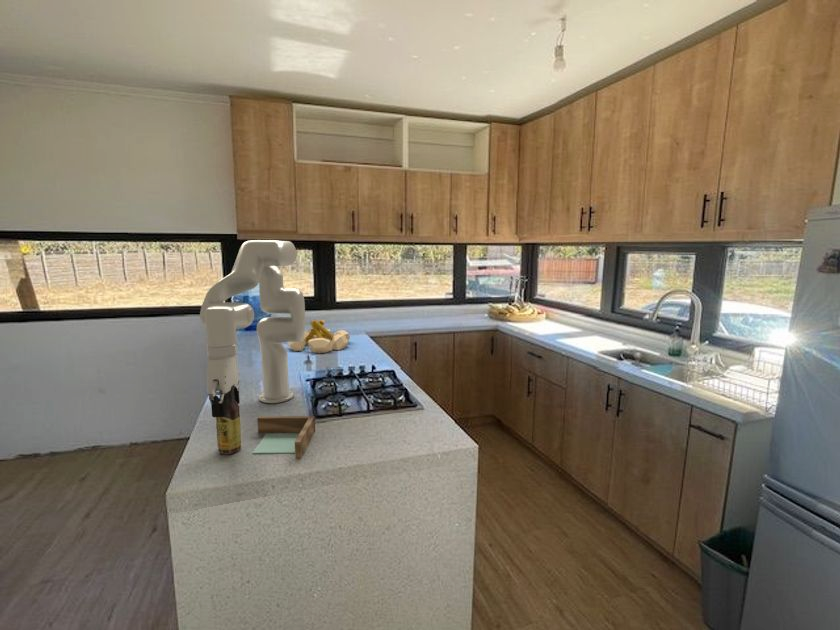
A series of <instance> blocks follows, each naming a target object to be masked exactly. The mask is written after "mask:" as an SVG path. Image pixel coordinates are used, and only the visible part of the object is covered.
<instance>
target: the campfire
mask: <svg viewBox="0 0 840 630" xmlns="http://www.w3.org/2000/svg"><path fill="white" fill-rule="evenodd" d="M309 323H310V324H309V325H310V326H311V328H309V329H308V330H307V331H306V330H305V337H304V339H303V340H302V341H300V342H287V344H288V346H289V348H290V349H291V350H292V351H293V352H298V351H303V350H304V348H305V346H306V345H307V344H308V348H309V350H310V351H311V352H312V353H314V354H326V353H328V352H331V351H332V350H333V351H334V350H336V351H339V350H343V349H345V348H346V347H347V345H348V343H349V341H350V339H351V336H350V334H349V332H347V331H346V330H343V329H340V330H336V331H335V332H334V334H332V332H331V329H328V328H326V327H325V326H324V324H326V320H325V319H320V320H319V321H318V320H317V319H313V320H310V322H309Z"/></svg>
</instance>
